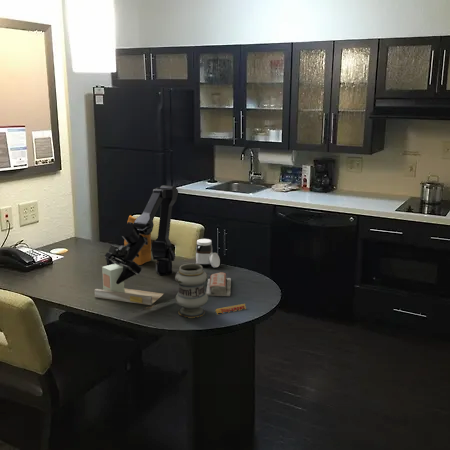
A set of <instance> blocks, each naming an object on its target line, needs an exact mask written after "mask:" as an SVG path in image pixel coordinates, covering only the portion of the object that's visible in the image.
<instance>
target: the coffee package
mask: <svg viewBox="0 0 450 450" xmlns="http://www.w3.org/2000/svg"><path fill="white" fill-rule="evenodd" d="M136 219H137V217H134V216H132V215H131V214H130V215H129V216H128V219H127V223H128V222H132V223H134V222H135V220H136ZM127 223H126V224H127ZM139 235H141V234H139ZM142 236H143V237H145V238H147V241H148V245H145V244H144V246H143V247H142V248H141V250H140V251H139V253H138V254H139V257H135V259H134V260H133V261H134V262H135V263H137V264H138V265H139V266H141V265H143V264H145V263H148V262H150V261H152V237H151V236H152V234H150V235H142ZM123 243H124V244H123V246H124V245H125V246H126V245H127V244H128V242H127V241H126V240H125V239H124V241H123Z"/></svg>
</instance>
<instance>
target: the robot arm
mask: <svg viewBox="0 0 450 450" xmlns="http://www.w3.org/2000/svg"><path fill="white" fill-rule="evenodd" d="M178 196H179V189H178V188H177V187H176V186H174V185H161V186H160V187H156V188H153V189H152V191H151V195H150V197H149V199H148V201H147V203H146V206H145V208H144V210H143V212H142V213H141V214H140V215H139V216H137V217H136V218H137V219H136V220H135V222H134V223H132V222H128V221H127V222H128V223H126V224H124V225H122V227H121V228H120V229H119V235H120V236H121V238H123V239H124V240H126V241H127V242H128V244H127V245H126V246H125V245H124V244H123V245H120V246H117V245H113V244H110V246H109V249H108V251H107V252H105V255H104V257H105V261H106V266H107V265H111V264H117V265H121V266H122V267H123V271H122V273H121V275H120V276H119V278H118V280H117V282H116V283H117V284H119V283H121V282H123V281H124V282H125V281H126V280H128V279H129V278H132V277H134V276H137V275H139V274H141V272H142V267H141V265H138V264H137V263H135V262H134V261H133V260H134V259H135V257H139V254H138V253H139V251H140V250H141V248H142V247H143V246H144V244H145V245H148V241H147V238H145V237H143V236H142V235H150V234H151V233H152V232H153V229H154V224H155V223H154V219H155V217H156V213H157V212H158V210H159V208H160V211H159V212H160V213H159V223H158V231H157V238H156V239H155V240H153V241H152V245H151V256H152V258H153V260H155V261H156V262H155V272H156V273H157V274H158V275H159V276H163V275H170V274H171V275H172V274H174V271H173V262H174V261H175V260H176V253H175V252H174V251H173V249H172V243H171V240H170V232H171V231H170V229H171V220H172V211H173V206H174V204H175V203H176V202H177V198H178ZM139 234H141V235H139ZM151 235H152V234H151Z"/></svg>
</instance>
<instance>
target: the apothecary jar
mask: <svg viewBox="0 0 450 450" xmlns="http://www.w3.org/2000/svg"><path fill="white" fill-rule="evenodd" d="M203 268H204V267H202V266H201V265H200V264H196V262H195V263H193V262H192V263H191V262H190V263H184V264H182V265H180V266H179V268H178V269H179V270H178V271H177V272H176V273H175V275H174V279H175V281H176V283H177V285H178V286H177V287H178V292H177V293H176V295H175V299H174V301H175V302H176V304H177V305H178V306H179V307H181V308H180V309H179V310H178V311H177V312H178V315H180V317H184V318H186V317H188V319H194V318H195V317H197V318H200V317H203V316H204V315H205V313H206V311H205V308H203V306H204V305H205V306H206V304H207V302H208V300H209V296H208V295H207V294H206V291H205V283H206V281H208V274H207V273H206V271H204V269H203ZM203 314H204V315H203ZM199 316H200V317H199ZM195 319H196V318H195Z"/></svg>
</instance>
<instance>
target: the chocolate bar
mask: <svg viewBox="0 0 450 450" xmlns="http://www.w3.org/2000/svg"><path fill="white" fill-rule="evenodd" d="M242 309H244V310H247V307H246V303H241V304H236V305H229V306H225V307H220V308H216V309H215V311H214V313H215V312H216V313H217V314H216V313H215V314H216V315H219V314H218V313H222V314H224V313H223V312H228V313H231V312H230V311H233V312H238V311H242ZM237 310H238V311H237Z"/></svg>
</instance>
